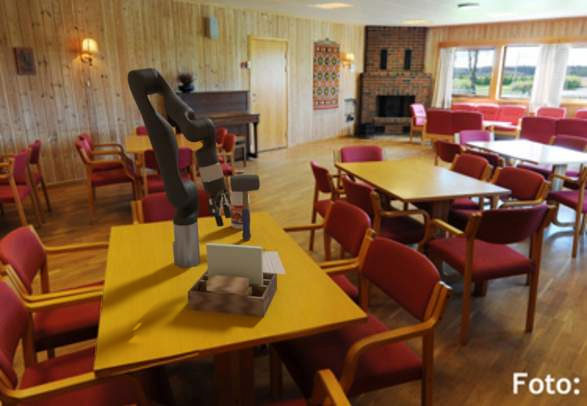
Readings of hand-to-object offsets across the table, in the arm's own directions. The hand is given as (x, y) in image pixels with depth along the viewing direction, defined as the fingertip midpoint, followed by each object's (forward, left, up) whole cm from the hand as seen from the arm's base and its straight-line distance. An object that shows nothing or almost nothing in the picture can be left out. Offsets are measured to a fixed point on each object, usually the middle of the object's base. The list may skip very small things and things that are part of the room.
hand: (224, 221), depth 153 cm
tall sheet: (+8, -15, -21) cm, 27 cm away
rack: (+8, -16, -22) cm, 29 cm away
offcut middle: (+9, -21, -18) cm, 29 cm away
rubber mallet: (-5, +41, -22) cm, 47 cm away
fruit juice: (-13, +58, -22) cm, 63 cm away
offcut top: (+8, -21, -15) cm, 26 cm away
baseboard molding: (+12, +11, -23) cm, 28 cm away
